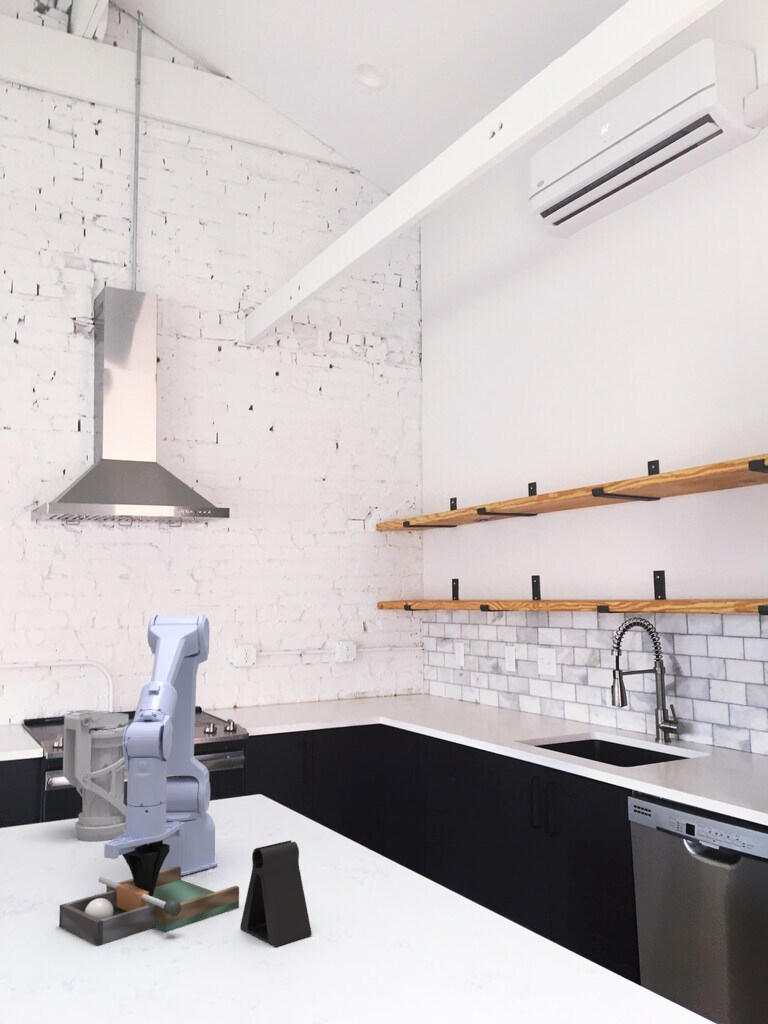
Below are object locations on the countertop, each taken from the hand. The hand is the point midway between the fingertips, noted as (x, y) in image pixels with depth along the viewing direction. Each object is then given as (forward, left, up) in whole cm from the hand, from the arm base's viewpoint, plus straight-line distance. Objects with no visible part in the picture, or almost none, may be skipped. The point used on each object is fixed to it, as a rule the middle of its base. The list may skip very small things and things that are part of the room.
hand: (145, 896), depth 131 cm
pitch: (0, 0, -3) cm, 3 cm away
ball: (+7, 0, 0) cm, 8 cm away
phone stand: (-8, +20, -3) cm, 22 cm away
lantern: (-18, -46, -3) cm, 50 cm away
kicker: (+2, +1, -1) cm, 3 cm away
